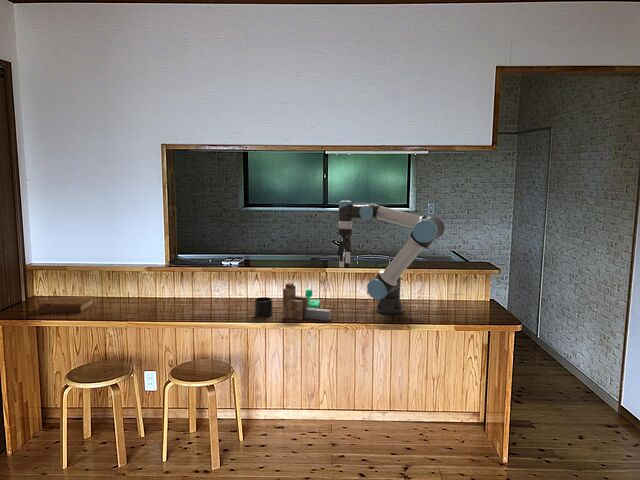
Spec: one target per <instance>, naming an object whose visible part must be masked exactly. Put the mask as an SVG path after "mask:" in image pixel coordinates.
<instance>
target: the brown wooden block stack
mask: <svg viewBox="0 0 640 480" xmlns="http://www.w3.org/2000/svg"><path fill="white" fill-rule="evenodd" d="M296 287H297V286H296V285H294V283H293V282H288V283H286V284H285V288H283V289H282V292H283V293H282V302H283V303H282V307H283V308H282V309H283V310H282V312H283V313H282V316H283V319H289V320H290V319H292V320H301V321H302V320H303V319H304V318H303V307H308V297H305V296H303V295H302V296H300V295H296V291H297V288H296ZM308 308H309V307H308Z"/></svg>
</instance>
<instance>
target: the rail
mask: <svg viewBox="0 0 640 480" xmlns="http://www.w3.org/2000/svg"><path fill="white" fill-rule="evenodd" d="M303 319H309V320H319V321H330V320H331V319H332V309H327V308H319V307H318V308H312V307H303Z"/></svg>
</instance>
